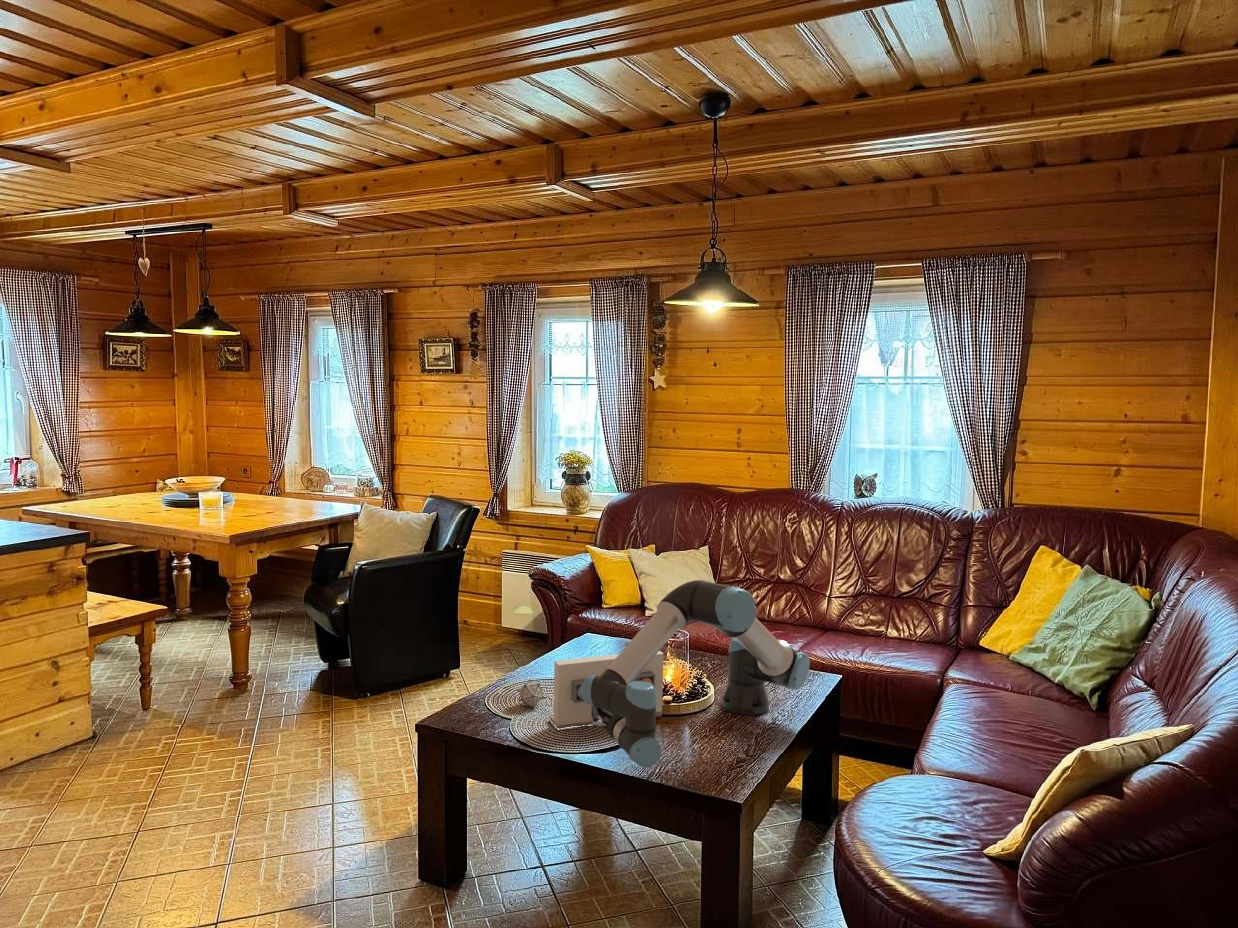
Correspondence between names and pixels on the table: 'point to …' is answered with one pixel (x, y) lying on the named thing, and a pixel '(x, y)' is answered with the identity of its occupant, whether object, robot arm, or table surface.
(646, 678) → the terracotta button
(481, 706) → the table surface
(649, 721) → the robot arm
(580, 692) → the slate button
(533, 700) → the game die
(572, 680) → the button panel
